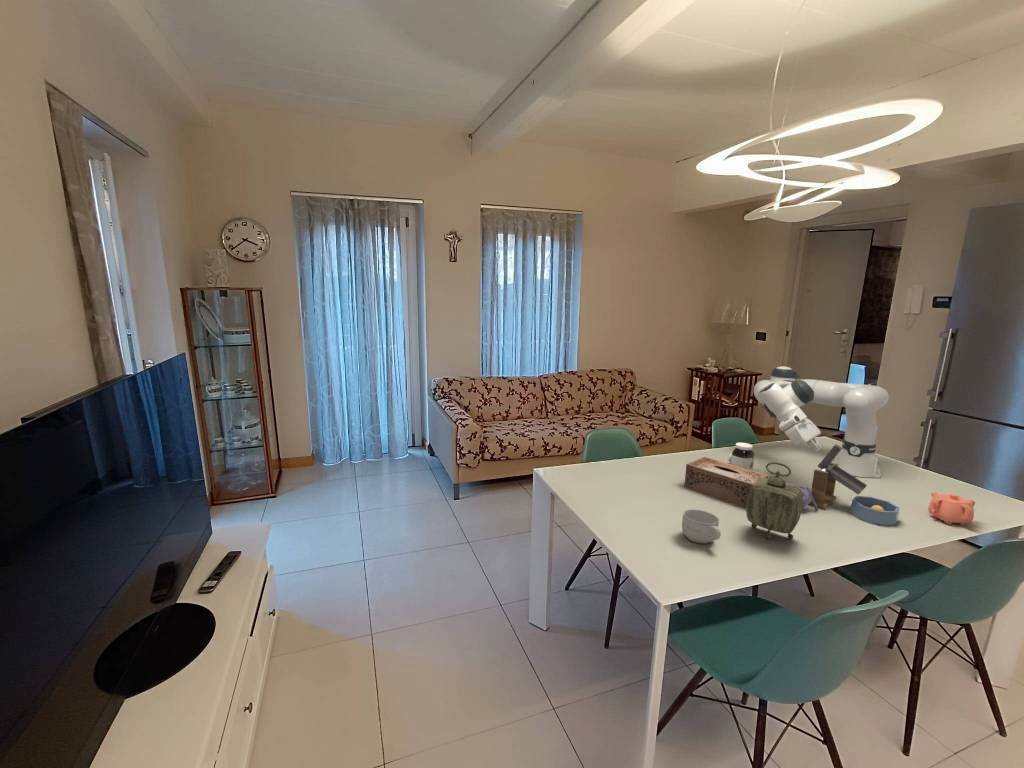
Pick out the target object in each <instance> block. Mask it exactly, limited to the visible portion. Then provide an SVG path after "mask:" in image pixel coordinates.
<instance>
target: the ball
mask: <svg viewBox="0 0 1024 768" xmlns="http://www.w3.org/2000/svg"><path fill="white" fill-rule="evenodd" d="M871 508H872V509H876V510H879V511H884V509H883V508H882V507H881V506H878V505H874V506H872V507H871Z"/></svg>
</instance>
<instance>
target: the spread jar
mask: <svg viewBox="0 0 1024 768" xmlns="http://www.w3.org/2000/svg"><path fill="white" fill-rule="evenodd" d="M753 447H754V445H752V444H750V443H746V442H736V443H735V447H734V449H732V452H731V453H729V454H728V457H727V462H729V464H731V465H735V466H738V467H742V468H745V469H749V470H753V467H754V462H755V452H754V450H753Z"/></svg>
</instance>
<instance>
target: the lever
mask: <svg viewBox="0 0 1024 768" xmlns="http://www.w3.org/2000/svg"><path fill="white" fill-rule="evenodd" d="M842 449H843V448H842V446H840V445H839V444H837V443H836V444H835V445H833V447H832V448H831V449H830V450H829V451H828V453H827V454H826V455H825V456H824V458H823V459H822V461H820V462H819V463H818V464H817V466H816V467H817V468H819V470H821V471H825V472H828V475H829V476H830V477H832V478H833V479H835V480H836V482H838V483H840V484H841V485H843V486H844V487H846V488H847V489H848V490H850V491H852V492H853V493H855V494H856V495H857V496H860V494H861V493H862V492H863V491H864V489H866V487H868V484H866V483H865V482H863V481H862V480H861V479H858V478H857V477H856V476H853V475H851V474H849V473H847V472H846V471H844V470H843V469H841V468H840V467H838V466H836V465H835V464H833V465H830V463H833V461H835V459H836V456H837V455H838V454H839V452H840V451H841V450H842Z"/></svg>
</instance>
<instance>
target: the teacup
mask: <svg viewBox="0 0 1024 768" xmlns="http://www.w3.org/2000/svg"><path fill="white" fill-rule="evenodd" d="M719 523H720V518H719V517H718V516H717V515H715V514H714V513H712V512H709V511H706V510H702V509H696V508H695V509H694V508H689V509H685V510H684V511H682V521H681V530H682V533H683V534H684V535H685V536H686V537H687V539H688V540H689V541H691V542H693V543H697V544H708V543H711V542H713V541H716V540H719V539H720V538H721V533H722V532H721V529H720V528H719Z"/></svg>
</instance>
